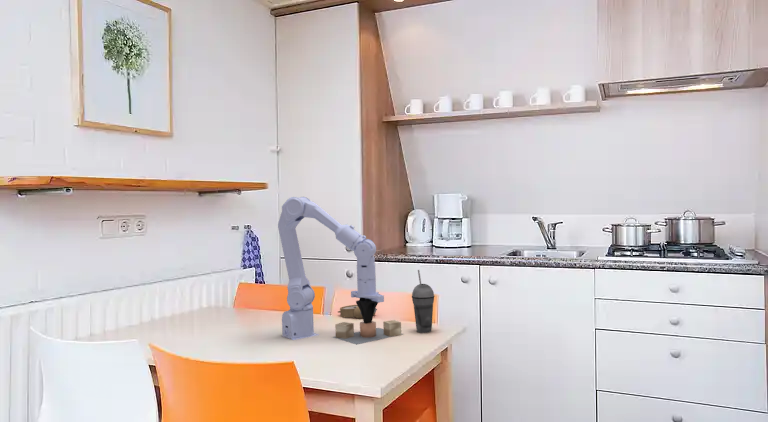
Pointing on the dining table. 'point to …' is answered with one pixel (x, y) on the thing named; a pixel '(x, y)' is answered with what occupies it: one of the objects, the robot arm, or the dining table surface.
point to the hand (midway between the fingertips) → (367, 322)
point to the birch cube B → (392, 328)
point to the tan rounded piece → (368, 329)
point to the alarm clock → (352, 311)
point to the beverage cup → (423, 306)
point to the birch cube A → (344, 330)
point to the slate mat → (359, 340)
